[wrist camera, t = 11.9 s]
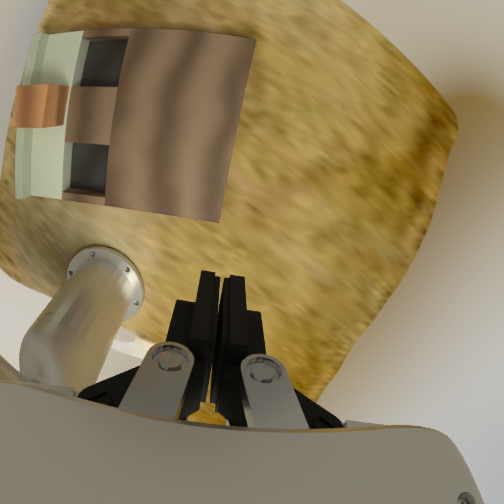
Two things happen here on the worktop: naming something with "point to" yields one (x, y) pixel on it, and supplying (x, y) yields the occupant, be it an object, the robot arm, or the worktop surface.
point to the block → (40, 106)
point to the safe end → (51, 138)
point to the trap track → (157, 119)
